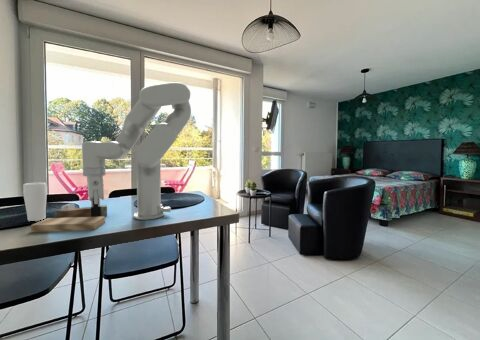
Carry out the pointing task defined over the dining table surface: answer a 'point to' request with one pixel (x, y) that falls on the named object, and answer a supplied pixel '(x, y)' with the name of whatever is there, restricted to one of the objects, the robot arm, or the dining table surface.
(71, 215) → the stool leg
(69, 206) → the stop block
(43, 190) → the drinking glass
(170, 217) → the dining table surface
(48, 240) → the dining table surface
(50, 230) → the board
